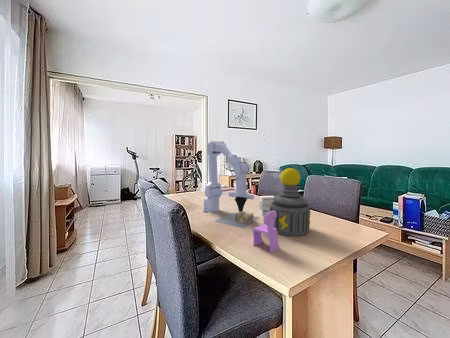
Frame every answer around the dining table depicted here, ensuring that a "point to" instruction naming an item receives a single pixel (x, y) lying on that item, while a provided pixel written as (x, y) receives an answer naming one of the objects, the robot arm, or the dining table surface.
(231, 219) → the slate board
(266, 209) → the ink box
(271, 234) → the toy chair
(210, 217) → the dining table surface
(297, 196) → the decorative lamp
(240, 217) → the maple block
